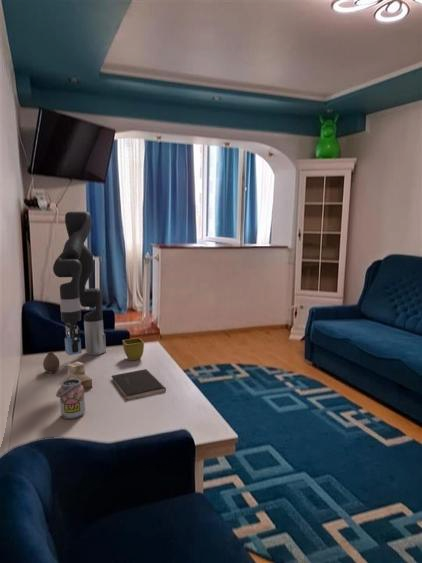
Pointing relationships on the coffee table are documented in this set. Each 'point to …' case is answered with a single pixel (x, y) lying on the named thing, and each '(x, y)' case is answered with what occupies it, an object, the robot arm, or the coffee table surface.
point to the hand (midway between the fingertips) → (73, 350)
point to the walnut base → (84, 381)
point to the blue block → (69, 346)
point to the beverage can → (71, 398)
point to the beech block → (75, 369)
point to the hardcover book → (138, 383)
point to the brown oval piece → (51, 363)
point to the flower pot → (133, 348)
